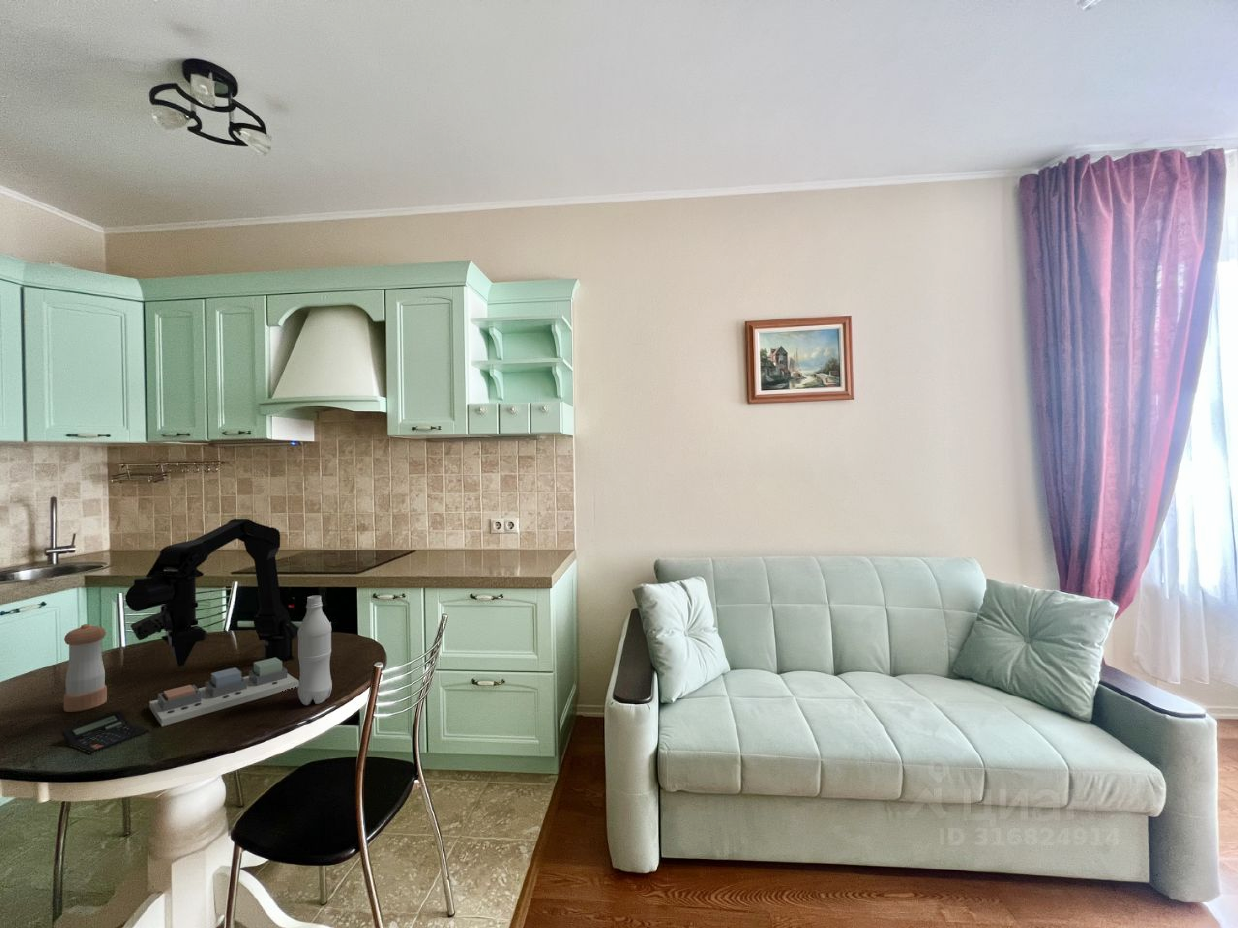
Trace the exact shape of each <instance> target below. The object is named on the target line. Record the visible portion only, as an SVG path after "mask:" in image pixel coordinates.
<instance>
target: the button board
mask: <svg viewBox="0 0 1238 928" xmlns="http://www.w3.org/2000/svg"><path fill="white" fill-rule="evenodd" d="M191 686H192V687H193V688H194V689H195V690H196V693H194V694H191V695H187V696H183V697H179V698H175V699H172V700H168V701H166V700H165V699H164V692H161V693H160V692H159V693H157V699H155V700H149V701H148V702H149V710H150V711H151V713H152V714H153V716H154V717H155V718H156V720H157V721H158V724H160V726H161V727H165V726H168V725H172V724H176V723H179V722H182V721H186V720H190V719H193V718H196V717H199V716H203V715H206V714H209V713H213V712H217V711H220V710H224V709H227V708H230V707H234V706H237V705H240V704H244V703H247V702H251V701H254V700H258V699H262V698H265V697H268V696H272V695H275V694H278V693H281V692H282V691H283V692H286V691H288V690H287V689H290V690H292V689H291V688H293V689H296V688H298V686H299V680H298V679H297V678H295V677H294V676H293V675H291V674H290V673H288V669H287V668H286V667H284V666H283V665H282V671H278V672H274V673H270V674H267V675H263V676H258V675H256V674H255V673H254V669H251V670H248V675H246V676H242V675H241V681H240V682H236V683H232V684H229V685H225V686H221V687H217V688H215V687H214V686H213V685H212V684H211V680H209V681H205V686H203V687H201V688H198V687H197V686H196V685H195V684H193V685H192V684H191ZM295 687H296V688H295ZM285 690H286V691H285Z"/></svg>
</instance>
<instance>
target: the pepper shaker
mask: <svg viewBox="0 0 1238 928" xmlns="http://www.w3.org/2000/svg"><path fill="white" fill-rule="evenodd" d="M106 633H107V632H106V630H105V628H104V627H102V626H98V625H90V623H89V624H88V623H85V624H82V625H81V626H80V627H78V628H75V629H72V630H71V631H69V632H67V633H66V635H65V636H64V639H63V640H64V643H65V644H66V645H68V665H67V670H66V674H65V693H64V694H63V711H64V712H66V713H67V712H69V713H70V712H71V713H72V712H81V711H86V710H90V709H93V708H96V707H99V706H100V705H103V704H105V703H107V701H108V700H107V699H108V695H107V694H108V688H107V687H108V686H107V685H106V684H105V682H106V681H105V679H106V671H105V670H106V669H105V666H104V662H103V658H102V657H103V655H102V639H104V638H105V637H106Z"/></svg>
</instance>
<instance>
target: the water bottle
mask: <svg viewBox="0 0 1238 928" xmlns="http://www.w3.org/2000/svg"><path fill="white" fill-rule="evenodd" d="M306 602H307V603H306V606H305V609H306V612H305V616H304V617H303V619H302V620H301V623H300V624H299V626H298V628H299V629H298V632H297V657H298V666H299V680H298V681H299V686H298V687H297V695H298V699H299V700H300V703H301V704H303V706H309V705H310V704H311V702H312V701H314V703H315V705H319V704H321V703H323V702H325V700H326V699H329V697H330V695H331V692H332V689H333V687H332V686H333V682H332V678H331V671H330V659H331V654H332V633H331V632H332V626H331V623H330V621H329V619H328V618H327V616H326V614H325V613H324V611H323V606H324V604H323V601H322V595H311V596H307V600H306Z"/></svg>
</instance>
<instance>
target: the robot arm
mask: <svg viewBox="0 0 1238 928" xmlns="http://www.w3.org/2000/svg"><path fill="white" fill-rule="evenodd" d="M235 540H239V541H240V542H243V544H244V548H245V551H246V553H247V554H248V555H249V556H250V557H251V559H252V560H253V561H254V567H255V576H256V584H257V590H258V598H259V605H260V606H259V607H260V608H259V611H258V613H256V615H254V616H253V617H252V621H253V630H254V631H255V632H256V634H257V636H258V640H259V641H264V644H263V646H262V661H263V660H267V659H271V658H275V657H276V658H277V659H279V660H280V661H282V663H284V662H286V661H290V660H293V659H295V658H296V656H294V655H293V640H295V639H296V637H297V638H298V636H297V632H298V629H299V627H298V626H297V625H296V624H295V623H293V621H292V620H291V616H290V613H289V611H288V610H287V609H286V607H285V606H284V605H283V604H282V601H281V599H282V598H281V593H280V592H281V591H280V585H279V577H278V569H277V559H276V555H277V553H278V551H279V549H280V548H281V533H280V531H279V530H278V529H277V527H273V526H271V527H270V526H268V525H264V524H261V523H257V522H256V521H254V520H251V519H249V518H233V519H230V520H229V521H227V522H226V523H225V524H222V525H221V526H219V527H217V528H215V529H213V530H211V531H209V532H207V533H205V534H203V535H201V536H199V537H197V538H194V539H192V540H188V541H187V540H186V541H182V542H177V543H174V544H171V545H168V546H165V547H164V548H162V549H161V550H160V552H159V555H158V556H157V558H156V559H155V561H154V563H153V565H152V566H151V568H150V570H149V571H148V572H147V574H146V577H145V578H141V577H140V578H135V579H134V580H133V585H132V586H130V587H129V588H128V589H127V591H126V594H125V596H124V599H125V601H124V602H125V603H126V606H127V607H128V608H129V609H130V610H131V611H133V612H141V611H146V610H148V609H151V608H156V607H158V606H160V611H159V612H156V613H154V614H151V615H149V616H147V617H144V618H142V619H140V620H138V621H136V622H133V623H131V625H130V629H131V630H132V631H133V634H134V635H135V638H137V640H138V641H143V640H145V639H147V638H148V637H150V636H152V635H154V634H156V633H158V634H159V633H161V632H162V631H163V630H164V631H165V635H163V636H161V637H160V638H161V639H162V640H163V641H164V642H165V643H166V644H167V645H169V646H170V647H171V650H172V651H171V652H172V655H173V657H174V660H175V663H176V666H177V667H178V668H182V667H184V666H185V664H186V662H187V660H188V658H189V656H190V654H191V652H192V651H193V648H194V647H195V645H196V643H198V642H202V641H207V630H205V629H204V628H203V627H202V626H199V620H198V619H197V613H196V612H197V611H196V610H197V608H198V607H199V603H198V602H197V598H196V595H197V593H196V590H197V588H196V586H197V584H196V583H197V582H196V581H197V580H196V579H197V578H200V577H203V576H205V573H203V572H202V571H201V570H199V569H198V567H200V566H201V565H202V564H204V563H205V562H206V561H207V559H208V556H209V555H210V554H211V553H214V552H215V551H217V550H219V549H221V548H222V547H224V546H226V545H228V544H230V543H232V542H234V541H235Z"/></svg>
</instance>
